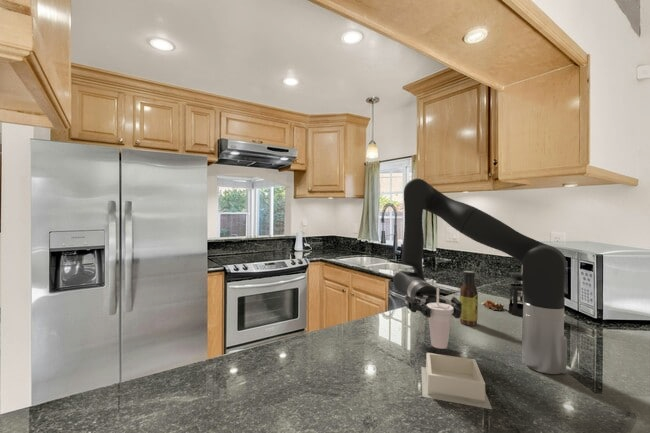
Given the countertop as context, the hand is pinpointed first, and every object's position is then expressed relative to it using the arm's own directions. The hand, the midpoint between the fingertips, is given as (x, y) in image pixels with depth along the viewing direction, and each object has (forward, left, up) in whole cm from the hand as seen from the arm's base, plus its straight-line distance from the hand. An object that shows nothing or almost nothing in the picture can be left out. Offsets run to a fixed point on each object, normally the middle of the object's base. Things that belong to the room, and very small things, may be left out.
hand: (443, 314), depth 73 cm
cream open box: (-2, -1, -17) cm, 17 cm away
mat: (-2, -1, -18) cm, 18 cm away
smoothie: (+1, -2, -9) cm, 9 cm away
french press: (-37, -70, -18) cm, 82 cm away
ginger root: (-27, -77, -18) cm, 84 cm away
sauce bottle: (-13, -50, -18) cm, 55 cm away
